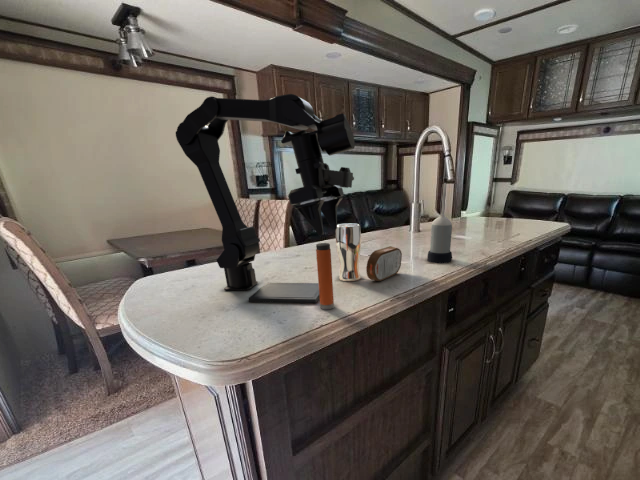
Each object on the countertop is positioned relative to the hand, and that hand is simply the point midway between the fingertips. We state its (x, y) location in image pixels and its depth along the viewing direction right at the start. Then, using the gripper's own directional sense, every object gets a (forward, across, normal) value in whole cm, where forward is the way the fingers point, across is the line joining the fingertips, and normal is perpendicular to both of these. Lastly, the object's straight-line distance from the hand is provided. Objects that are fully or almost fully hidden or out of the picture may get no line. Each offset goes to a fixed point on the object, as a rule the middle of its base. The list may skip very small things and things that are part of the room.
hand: (328, 231), depth 74 cm
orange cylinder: (+15, -9, +1) cm, 18 cm away
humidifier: (+20, +39, -22) cm, 49 cm away
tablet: (+13, -3, +13) cm, 18 cm away
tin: (+17, +15, -7) cm, 24 cm away
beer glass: (+15, +13, +2) cm, 20 cm away
